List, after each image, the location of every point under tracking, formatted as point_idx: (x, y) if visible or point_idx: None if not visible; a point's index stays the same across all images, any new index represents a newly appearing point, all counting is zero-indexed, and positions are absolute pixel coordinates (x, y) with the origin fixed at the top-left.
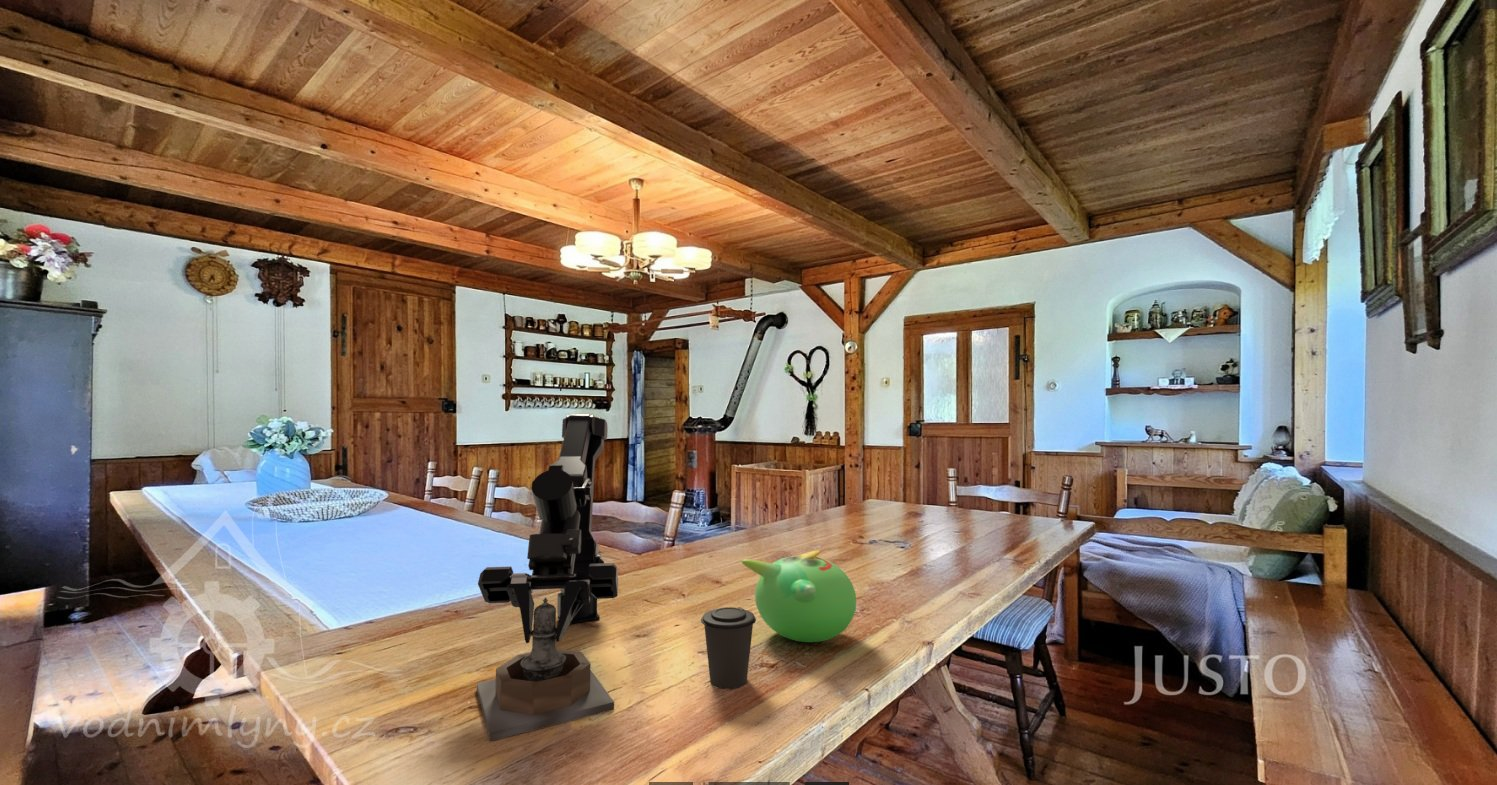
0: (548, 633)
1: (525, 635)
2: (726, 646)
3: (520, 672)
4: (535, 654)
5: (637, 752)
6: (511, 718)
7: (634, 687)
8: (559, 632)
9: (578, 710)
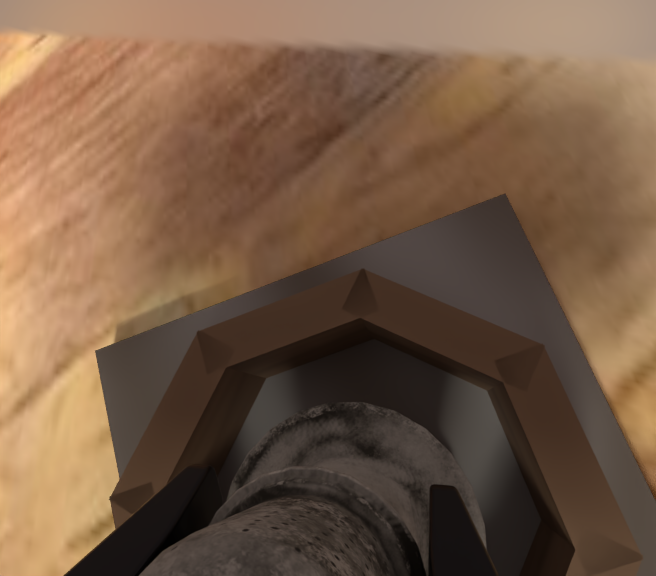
0: (258, 497)
1: (457, 509)
2: None
3: None
4: (380, 482)
5: (79, 112)
6: (453, 283)
7: (25, 527)
8: (169, 489)
9: (215, 305)
